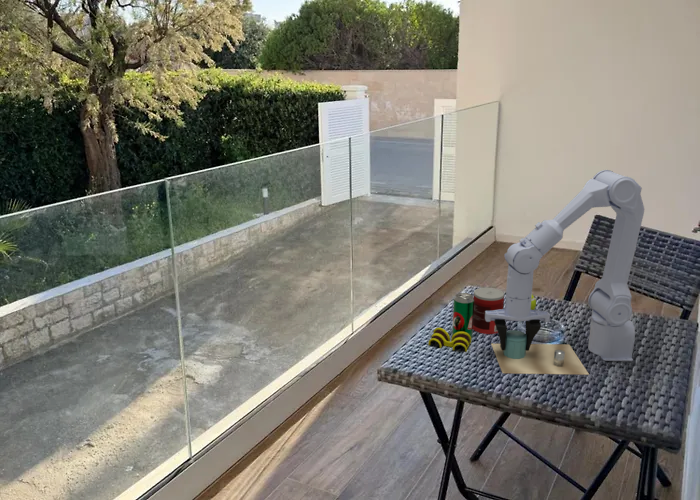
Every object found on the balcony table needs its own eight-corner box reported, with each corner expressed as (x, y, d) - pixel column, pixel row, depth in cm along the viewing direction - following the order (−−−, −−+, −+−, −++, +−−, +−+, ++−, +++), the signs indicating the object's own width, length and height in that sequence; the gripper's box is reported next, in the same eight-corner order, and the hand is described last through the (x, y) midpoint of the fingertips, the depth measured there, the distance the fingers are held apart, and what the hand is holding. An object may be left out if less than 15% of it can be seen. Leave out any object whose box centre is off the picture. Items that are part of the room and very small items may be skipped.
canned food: (500, 326, 163) (503, 287, 160) (502, 339, 156) (505, 299, 152) (471, 324, 165) (473, 286, 161) (471, 337, 157) (474, 297, 154)
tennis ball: (538, 318, 168) (540, 296, 166) (514, 319, 168) (516, 296, 166) (530, 309, 174) (532, 287, 172) (507, 309, 174) (509, 287, 172)
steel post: (561, 362, 141) (563, 349, 140) (564, 366, 139) (566, 354, 138) (552, 362, 141) (553, 349, 140) (554, 366, 139) (556, 354, 138)
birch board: (568, 349, 150) (569, 344, 150) (588, 379, 136) (589, 374, 135) (490, 347, 151) (491, 343, 151) (502, 377, 137) (502, 373, 136)
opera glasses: (427, 352, 151) (427, 336, 149) (433, 340, 155) (433, 324, 153) (466, 360, 147) (466, 343, 145) (471, 347, 151) (471, 330, 149)
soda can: (471, 344, 153) (474, 300, 149) (451, 343, 154) (453, 298, 150) (472, 336, 158) (474, 292, 154) (452, 334, 159) (454, 291, 155)
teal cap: (522, 349, 148) (524, 330, 146) (527, 359, 143) (528, 339, 141) (501, 349, 148) (502, 330, 146) (505, 358, 143) (507, 339, 142)
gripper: (546, 289, 144) (541, 341, 148) (484, 288, 145) (481, 340, 149) (554, 300, 138) (549, 354, 142) (489, 299, 138) (485, 354, 142)
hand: (514, 348), depth 145 cm, fingers closed on teal cap, 5 cm apart
